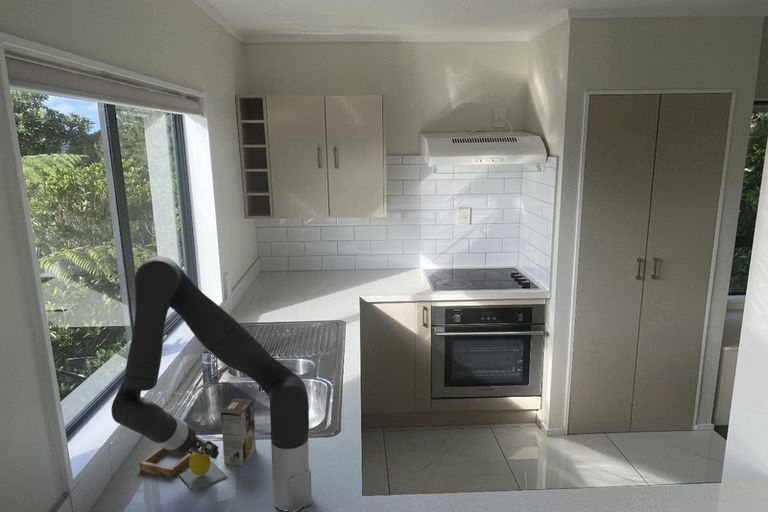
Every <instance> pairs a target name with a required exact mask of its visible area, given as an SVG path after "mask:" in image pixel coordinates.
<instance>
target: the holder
mask: <svg viewBox="0 0 768 512" xmlns="http://www.w3.org/2000/svg"><path fill="white" fill-rule="evenodd" d="M166 454H169V455H175V456H181V457H182V458H181V459H179V460H178V461H177V462H176V463H175V464H174V465H172V466H167V465H162V464H158V463H156V462H157V461H159V460H160V459H162V458H163V457H164V456H165V455H166ZM190 455H191V454H190V453H188V452H185V453H183V454H174V453H172V452H170V451H168V450H166V449H164V448H163V447H161V446H159V448H157V449H156V450H155V451H154V452H152V453H151V454H149V455H148V456H147V457H145V458H144V459H143V460H140V462H139V463H138V464H139V471H140V472H142V473H143V472H144V473H148V474H152V475H157V476H161V477H166V478H171V479H173V478H175V477H176V476H177V475H179V474H180V472H182V471H183V470H184V469H186V467H188V466H189V458H190ZM162 456H163V457H162ZM158 459H159V460H158Z"/></svg>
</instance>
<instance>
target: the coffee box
mask: <svg viewBox="0 0 768 512" xmlns="http://www.w3.org/2000/svg"><path fill="white" fill-rule="evenodd" d="M220 415H221V416H220V417H221V419H220V421H221V434H222V451H223V463H224V464H225V465H226V464H227V465H236V466H245V464H246V463H247V462H248V460H249V459H250V457H252V455H253V454H254V452H255V451H256V450H257V449H256V448H257V444H256V442H257V441H256V429H255V428H256V425H255V424H256V423H255V409H254V400H253V399H245V398H232V400H231V401H230V402H229V403H228V404H227V405H226V407H224V409H222V411H221V412H220Z"/></svg>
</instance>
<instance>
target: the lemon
mask: <svg viewBox="0 0 768 512" xmlns="http://www.w3.org/2000/svg"><path fill="white" fill-rule="evenodd" d="M200 449H201V448H200ZM200 449H199V450H197V451H200ZM210 464H211V457H210V456H207V455H205V454H203V455H200V454H197V453H194V452H193V453H192V454H191V455H190V458H189V465H188V466H189V470H191V471H192V473H194V474H195V475H204V474H205V473H206V472H207V471H208V470H209V468H210Z"/></svg>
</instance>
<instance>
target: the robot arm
mask: <svg viewBox="0 0 768 512" xmlns="http://www.w3.org/2000/svg"><path fill="white" fill-rule="evenodd" d="M134 287H135V289H134V290H135V291H134V292H135V293H134V294H135V310H134V311H135V313H134V321H133V322H134V323H133V330H132V334H131V340H130V345H129V349H128V354H127V360H126V366H125V372H124V378H123V380H122V382H121V384H120V386H119V388H118V391H117V393H116V395H115V397H114V399H113V400H112V404H111V408H110V409H111V410H110V411H111V416H112V418H113V421H115V422H116V423H117V424H119V425H121V426H124V427H125V428H127V429H130V430H131V431H134V432H136V433H137V434H140V435H143V436H144V437H145V438H147V439H148V440H150V441H152V442H154V443H156V445H158V446H159V447H163V448H164V449H166V450H168V451H170V452H172V453H174V454H183V453H185V452H188V453H190V454H192V453H193V452H194V453H197V454H200V455H203V454H205V455H207V456H209V457H210V459H211V458H212V459H215V460H216V459H217V458H218V456H219V454H220V453H219V448H220V447H219V446H217V445H216V444H215V443H213V442H212V441H211V440H207V441H206V440H204V439H201V438H200V437H199V436H197V433H196V430H195V427H193V426H192V425H190V424H189V423H187V422H185V421H183V420H182V419H181V418H179V417H177V416H173V415H172V414H170V413H169V412H167V411H165V410H164V409H163V408H162V407H161V406H159V405H158V404H157V403H156V402H153V401H151V400H149V399H146V398H144V397H142V396H141V393H142V392H144V391H145V392H146V391H150V390H153V389H154V388H155V387H156V386H157V384H158V380H159V374H160V369H161V364H162V363H161V362H162V357H163V356H162V355H163V347H164V346H163V344H164V334H165V324H166V319H167V315H168V311H169V309H170V308H171V309H172V310H174V312H176V313H177V314H178V315H179V317H181V319H182V320H183V321H184V323H186V325H187V327H188V328H189V330H190V331H191V332H192V333H193V335H194V336H195V338H196V339H197V340H198V342H199V343H200V344H202V346H203V347H204V348H205V349H206V350H207V351H208V352H210V354H212V355H213V356H215V358H216V359H218V360H219V361H220V362H221V363H222V364H224V365H226V366H227V367H230V368H231V369H234V370H236V371H238V372H240V373H242V374H244V375H246V376H248V377H250V379H252V380H253V381H254V382H255V383H256V384H257V386H259V387H260V388H261V389H262V390H263V391H264V392H265V394H266V395H267V396H268V399H269V413H270V414H269V415H270V417H269V418H270V419H269V420H270V445H271V447H270V449H271V467H272V469H271V470H272V492H273V494H272V495H273V505H275V506H274V507H275V508H276V507H277V508H278V509H281V510H288V511H290V512H294V511H296V510H298V509H300V508H303V507H305V508H307V507H308V505H309V506H310V505H312V503H313V499H312V498H313V495H312V493H313V492H312V470H311V469H310V455H309V453H310V452H309V451H310V449H309V431H310V412H309V411H310V404H309V402H310V401H309V396H308V392H307V389H306V384H305V383H304V381H303V380H302V378H300V377H299V375H297V374H296V373H295V372H293V371H292V370H290V369H289V368H287V367H286V366H285V365H283V364H282V363H281V362H279V361H278V360H277V359H275V358H274V357H273V356H272V354H270V352H269V351H267V350H266V348H265V347H263V345H262V344H261V343H260V342H258V340H257V339H256V338H255V337H254V336H253V335H252V334H250V332H249V331H248V330H247V329H246V328H245V327H243V325H242V324H241V323H240V322H238V321H237V320H236V319H235V318H234V317H233V316H232V315H230V313H228V312H226V310H225V309H224V308H222V307H221V306H219V304H217V303H216V302H215V301H213V300H212V299H211V298H210V297H208V296H207V295H206V294H205V293H204V292H202V291H201V290H200V289H199V287H197V286H196V284H195V283H194V282H193V281H192V280H191V278H189V277H188V275H187V274H186V273H185V272H184V271H183V270H182V268H181V267H180V266H179V264H177V262H175V261H174V260H173V259H171V258H169V257H167V256H162V255H157V256H151V257H149V258H147V259H146V260H145V261H144V262H142V263H141V265H140V266H139V267H138V268H137V270H136V272H135V275H134ZM199 449H200V451H197V450H199ZM174 454H173V455H174ZM306 506H307V507H306ZM277 508H276V509H277ZM278 509H277V510H278ZM303 509H304V508H303Z"/></svg>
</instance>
